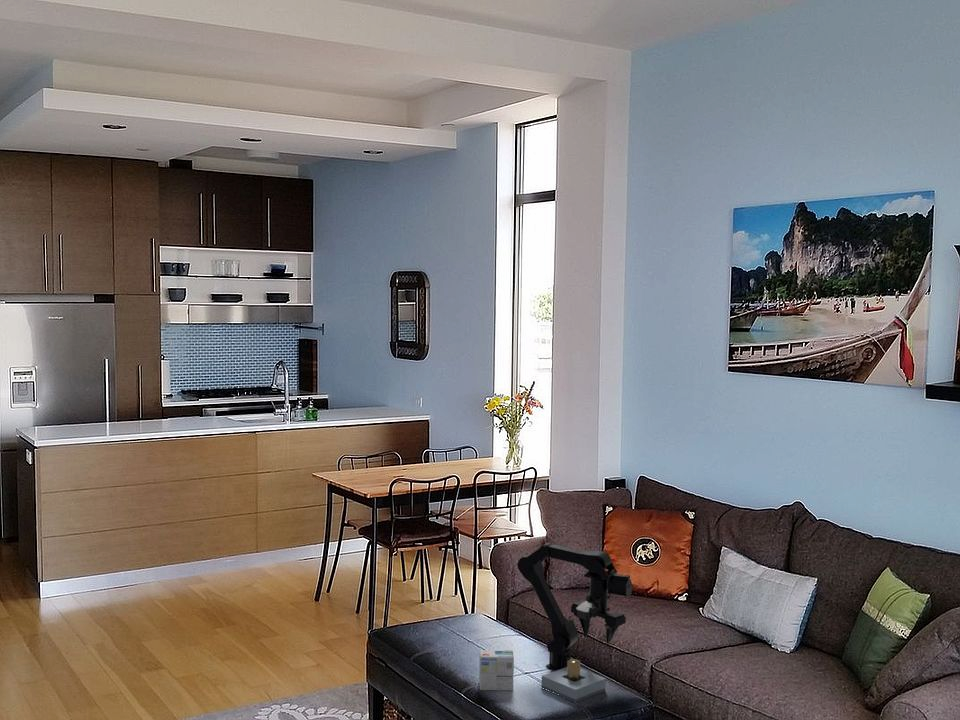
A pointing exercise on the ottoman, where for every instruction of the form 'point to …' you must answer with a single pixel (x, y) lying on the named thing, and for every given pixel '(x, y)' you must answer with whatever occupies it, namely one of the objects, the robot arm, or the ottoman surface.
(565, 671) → the bore block
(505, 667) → the light bulb box
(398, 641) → the ottoman surface
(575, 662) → the peg
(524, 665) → the ottoman surface
